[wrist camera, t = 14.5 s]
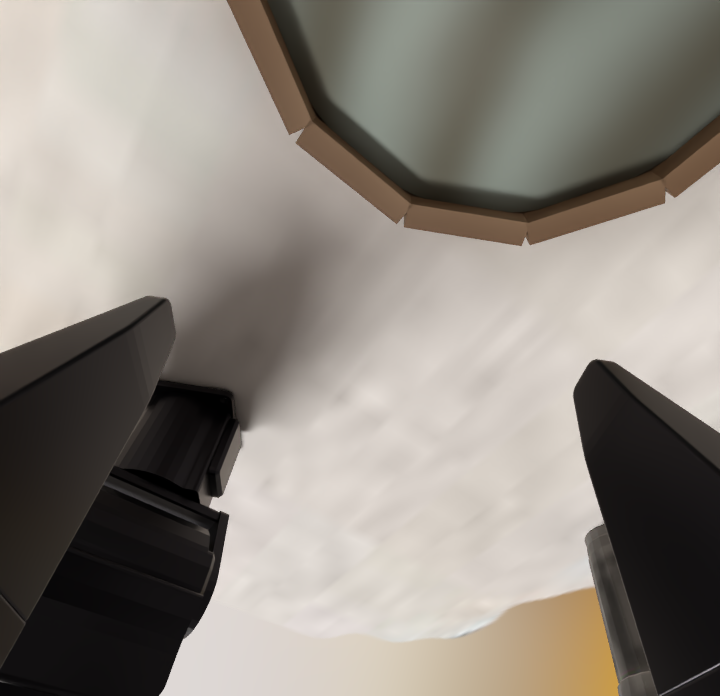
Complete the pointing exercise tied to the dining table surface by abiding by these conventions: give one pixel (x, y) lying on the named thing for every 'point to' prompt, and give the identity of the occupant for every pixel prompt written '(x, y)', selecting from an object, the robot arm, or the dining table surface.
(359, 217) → the dining table surface
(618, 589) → the beverage cup
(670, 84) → the round tray
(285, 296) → the dining table surface
